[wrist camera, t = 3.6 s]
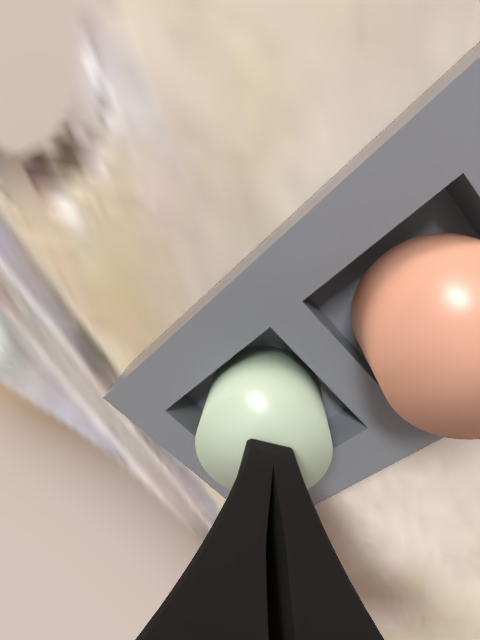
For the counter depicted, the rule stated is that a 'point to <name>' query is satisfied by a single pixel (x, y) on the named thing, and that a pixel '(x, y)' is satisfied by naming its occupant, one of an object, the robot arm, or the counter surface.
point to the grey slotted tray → (324, 289)
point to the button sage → (264, 414)
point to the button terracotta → (425, 331)
